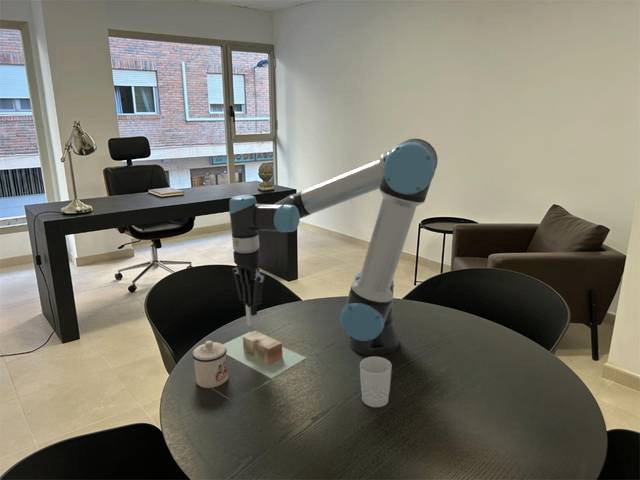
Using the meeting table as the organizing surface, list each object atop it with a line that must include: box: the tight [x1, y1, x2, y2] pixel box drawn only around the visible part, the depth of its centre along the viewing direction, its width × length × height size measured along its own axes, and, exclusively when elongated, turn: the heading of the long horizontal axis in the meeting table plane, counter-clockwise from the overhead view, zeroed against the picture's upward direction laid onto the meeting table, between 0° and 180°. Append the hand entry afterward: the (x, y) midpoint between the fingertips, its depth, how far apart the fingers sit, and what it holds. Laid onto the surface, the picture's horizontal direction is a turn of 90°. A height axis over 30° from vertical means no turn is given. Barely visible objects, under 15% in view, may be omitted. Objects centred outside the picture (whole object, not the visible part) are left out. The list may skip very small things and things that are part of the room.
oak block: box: [243, 330, 283, 365], centre depth 139 cm, size 5×5×12 cm
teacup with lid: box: [192, 340, 229, 389], centre depth 127 cm, size 12×9×12 cm
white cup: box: [359, 356, 393, 408], centre depth 116 cm, size 8×8×10 cm
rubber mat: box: [223, 331, 307, 381], centre depth 140 cm, size 26×14×1 cm, turn 48°
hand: (252, 323), depth 140 cm, fingers closed
